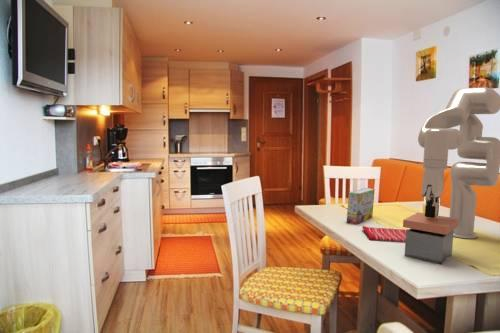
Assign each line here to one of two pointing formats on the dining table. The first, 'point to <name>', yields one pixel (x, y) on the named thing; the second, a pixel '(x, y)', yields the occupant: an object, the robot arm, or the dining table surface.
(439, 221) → the lid
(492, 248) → the dining table surface
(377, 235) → the dish towel
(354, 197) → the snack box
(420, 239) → the tin
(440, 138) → the robot arm
